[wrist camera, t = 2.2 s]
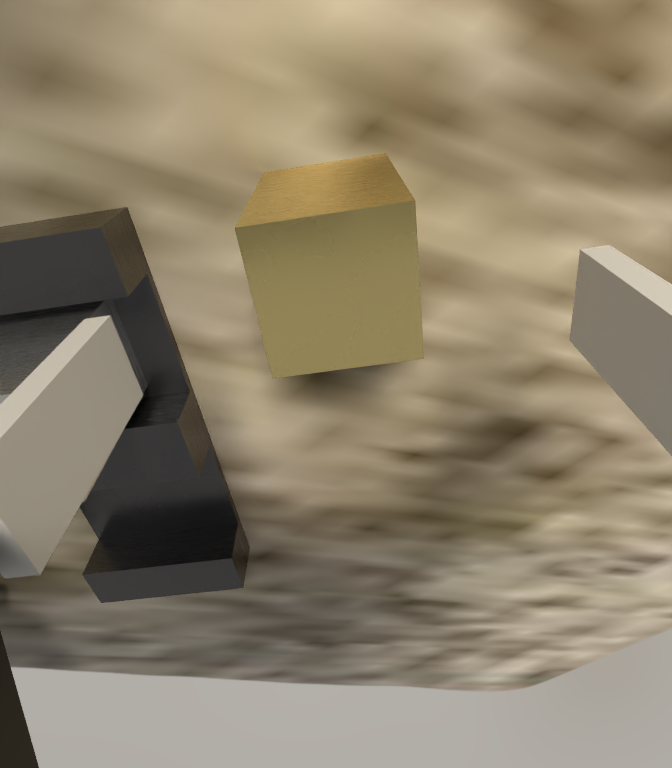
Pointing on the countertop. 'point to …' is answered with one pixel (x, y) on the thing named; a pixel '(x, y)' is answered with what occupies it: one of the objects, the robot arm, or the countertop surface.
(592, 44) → the countertop surface
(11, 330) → the light grey upright block
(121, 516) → the rack
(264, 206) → the block
